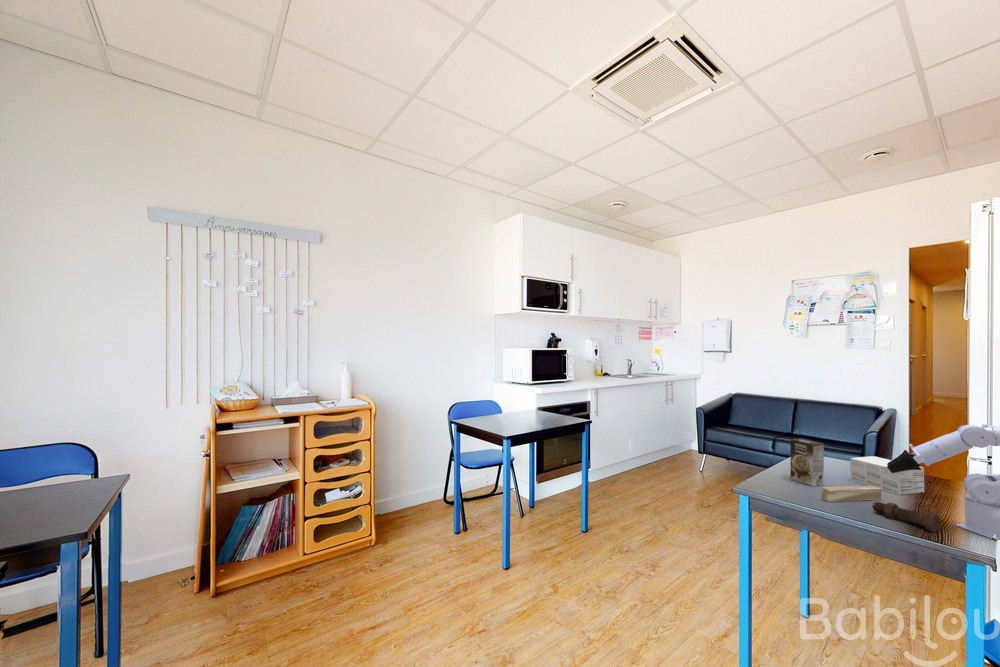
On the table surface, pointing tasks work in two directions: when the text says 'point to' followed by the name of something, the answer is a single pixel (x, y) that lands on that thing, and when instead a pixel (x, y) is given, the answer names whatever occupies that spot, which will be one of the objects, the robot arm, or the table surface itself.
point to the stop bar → (851, 493)
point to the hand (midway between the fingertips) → (889, 468)
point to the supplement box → (886, 476)
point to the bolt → (909, 515)
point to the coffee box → (807, 461)
